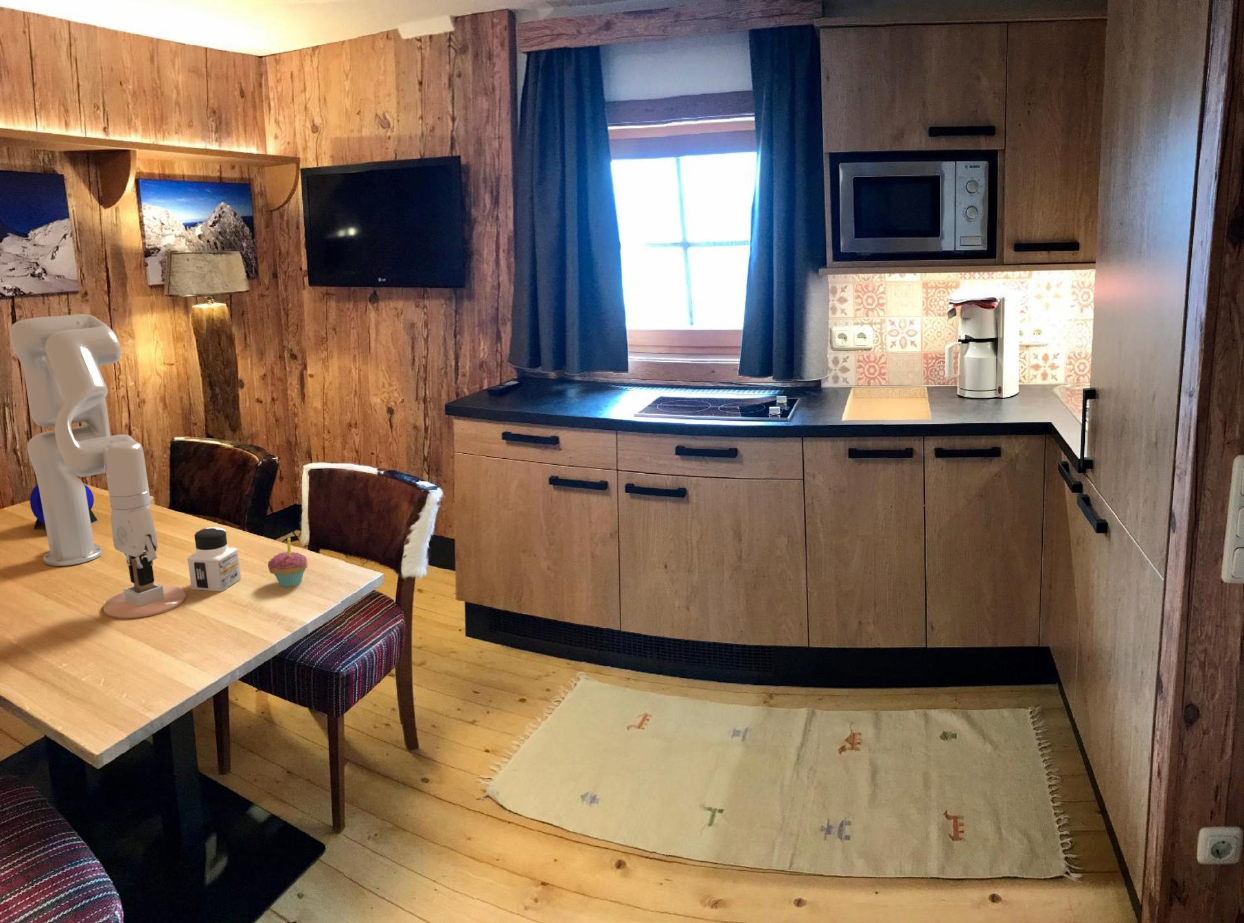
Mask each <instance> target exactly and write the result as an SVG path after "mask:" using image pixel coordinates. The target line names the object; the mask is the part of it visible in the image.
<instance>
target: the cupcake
mask: <svg viewBox="0 0 1244 923" xmlns="http://www.w3.org/2000/svg"><path fill="white" fill-rule="evenodd" d="M291 543H292V542H291V537H290V534H288V537H287V546H286V547H287V551H285V552H280V553H278V554H276V555H274V556H273V557H272V558H271V559H270V560H269V561H268V562H267V563H268V564H267V568H268V571H269V573H270V574H273V575H274V576H275V578H276V580H277V582H278V584H279V586H280V587H284V588H290V587H291V586H292V587H296V586H299V585H300V584H301V583H302V580H303V577H304V573H305V571H306V569H307V568H308V564H309V563H308V559H307V557H306V556H305V555H303V554H301V553H298V552H293V551H292V552H291V550H292V548H291V546H292V545H291Z"/></svg>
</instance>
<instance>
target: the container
mask: <svg viewBox="0 0 1244 923" xmlns="http://www.w3.org/2000/svg"><path fill="white" fill-rule="evenodd" d="M227 537H228V536H227V531H226V530H225V529H224V528H222V527H218V526H212V527H205V528H202V529H200V530H198V531H197V532H195V534H194V541H195V542H194V544H195V551H196V552H195V553H193V554H191V555H190V556H188V557H187V564H188V571H189V581H190V587H191V589H192V590H196V591H205V592H206V591H209V592H218V593H219V592H220V593H221V592H224V591H225V590H227V589H228V588H229V587H231V586H232V585H234V584H236V583H237V582H238V581H241V578H242V576H241V569H240V561H239V560H240V559H239V550H238V548H237V547H229V544H228V538H227Z"/></svg>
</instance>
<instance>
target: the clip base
mask: <svg viewBox="0 0 1244 923" xmlns="http://www.w3.org/2000/svg"><path fill="white" fill-rule="evenodd" d="M153 583H154V588H153V589H150V590H147V591H144V592H141V593H137V592H135V589H134V585H131V586H129V587H128V586H127V587H126V588H123V592H121V593H118V594H116V595H114V596H112V597H110V598H109V599H108V600H106V601H105V603H104V604H103V612H104V614H105V613H106V614H105V615H106V616H108V617H110V618H115V619H122V620H123V619H124V620H125V619H127V620H128V619H130V620H131V619H141V618H148V617H152V616H157V615H160V614H163V613H166V612H169V611H171V610H173V609H176V608H178V607H179V606H181V605H182V604H183V603H184V602H185V600H186V591H185V590H184V589H183V588H180V587H177V586H174V585H173V586H172V585H160V584H158V583H156V582H153Z"/></svg>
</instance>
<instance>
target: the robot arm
mask: <svg viewBox="0 0 1244 923" xmlns="http://www.w3.org/2000/svg"><path fill="white" fill-rule="evenodd" d="M9 338H10V343H11V347H12V350H13V352H14V353H15V355H16V357H17V359H18V360H19V362H20V364H21V366H22V369H23V374H24V380H25V385H26V386H25V387H26V394H27V399H28V407H29V408H28V409H29V411H30V412H29V413H30V417H31V419H32V421H33V422H34V423H35V424H36V425H37V426H39V427H42V428H43V427H44V428H47V427H49V428H50V427H54V430H48V431H44V432H40V433H38V434H36V435H34V436H32V438H30V440H29V441H28V443H27V454H28V456H29V460H30V462H31V465H32V468H33V471H34V473H35V478H36V482H37V484H38V486H39V491H40V497H41V502H42V508H43V514H44V520H45V532H46V536H47V543H48V548H49V551H48V552H47V553H45V555H44V556H43V559H42V560H43V562H44V564H46V565H49V566H55V567H59V566H60V567H61V566H63V567H65V566H73V565H78V564H83V563H88V562H90V561H93V560H94V559H97V558H98V557H99V558H100V557H101V555H102V554H103V548H102V547H101V546H100V545H97V544H95V542H94V541H95V540H94V536H93V528H92V523H91V522H90V515H89V509H88V503H87V496H86V490H85V486H84V482H83V481H82V480H81V479H80V478H83V477H85V478H86V477H91V476H95V475H100V474H105V476H106V484H107V489H108V494H109V496H108V497H109V502H110V510H111V512H110V514H111V515H110V516H111V518H110V519H111V531H112V542H113V548H114V549H115V550H116V551H118V552H120V553H123V554H124V556H125V558H126V559H125V560H126V565H128V572H129V579H130V583H131V584H134V575H133V566H132V562H131V559H135V558H136V559H137V565H138V568H136V571H137V577H138V584H139V586H144V585H147V584H150V583H155V576H154V568H153V565H154V562H153V561H154V560H156V559H157V558H158V556H157V553H156V551H157V550H158V548H159V547H158V537H157V532H156V531H157V530H156V528H155V522H154V517H153V514H152V510H151V505H152V503H151V502H152V501H151V494H150V488H149V483H148V474H147V469H146V460H145V453H144V448H143V446H142V444H141V443H140V442H138V441H136V440H135V439H134V438H133V437H132V436H130V435H129V434H125V433H123V434H122V433H121V434H114V435H111V431H110V430H111V429H110V421H109V413H108V412H109V411H108V405H107V400H106V399H107V398H106V397H107V395H108V392H109V391H108V390H109V389H108V387H107V384H106V382H105V380H104V378H103V375H102V373H101V370H100V368H99V366H106V365H113V364H116V363H118V362H119V360H120V359H121V355H122V348H121V343H120V341H119V339H118V337H117V334H116V333H115V332H114V330H112V328H111V327H110V326H108V325H107V324H106V323H104V322H103V321H101V319H98V318H97V317H96V316H94V315H91V314H87V313H86V314H85V313H82V314H81V313H80V314H79V313H76V314H69V315H54V316H41V317H40V316H39V317H32V318H31V317H30V318H27V319H26V318H25V319H21V320H18V321H17V322H16V321H15V323H13V324H12V325H11V327H10V330H9ZM78 423H84V425H81V426H74V427H72V424H78ZM79 477H80V478H79ZM143 556H145V557H144V558H143V559H142V558H141V557H143Z"/></svg>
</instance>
